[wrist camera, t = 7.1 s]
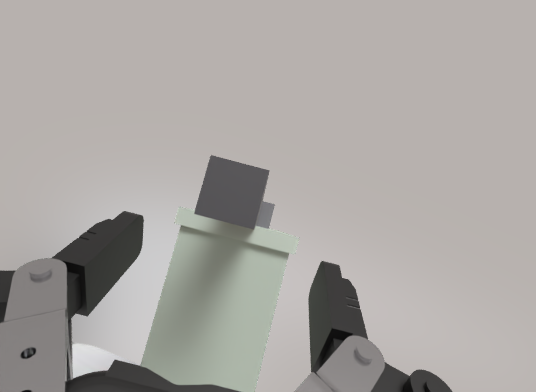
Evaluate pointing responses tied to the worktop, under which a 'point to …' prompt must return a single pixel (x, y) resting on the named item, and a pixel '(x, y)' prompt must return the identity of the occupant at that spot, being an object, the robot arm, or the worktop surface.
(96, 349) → the worktop surface
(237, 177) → the long gray t-shaped bar
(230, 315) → the tall capped green box
